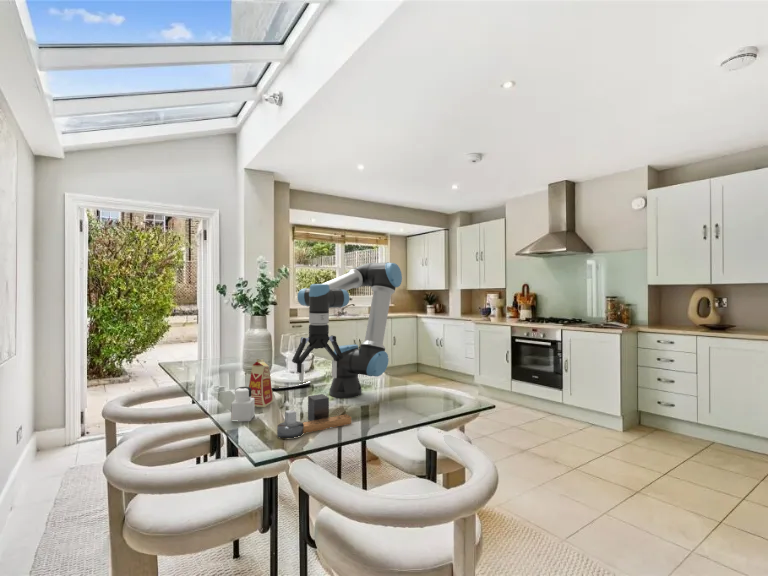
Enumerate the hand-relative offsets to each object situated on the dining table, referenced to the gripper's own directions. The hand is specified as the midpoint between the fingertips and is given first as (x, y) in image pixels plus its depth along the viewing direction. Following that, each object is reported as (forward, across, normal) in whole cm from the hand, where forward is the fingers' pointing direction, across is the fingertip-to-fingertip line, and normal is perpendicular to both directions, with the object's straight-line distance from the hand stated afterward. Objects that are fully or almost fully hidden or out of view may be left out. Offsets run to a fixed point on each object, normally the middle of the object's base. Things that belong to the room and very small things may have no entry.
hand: (318, 379), depth 155 cm
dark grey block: (+16, 0, 0) cm, 16 cm away
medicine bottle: (+16, -24, +17) cm, 33 cm away
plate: (+16, +6, +62) cm, 65 cm away
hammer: (+16, -4, -8) cm, 18 cm away
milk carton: (+16, -13, +33) cm, 39 cm away
